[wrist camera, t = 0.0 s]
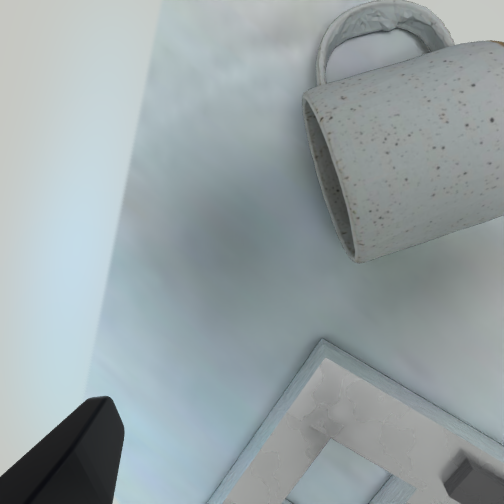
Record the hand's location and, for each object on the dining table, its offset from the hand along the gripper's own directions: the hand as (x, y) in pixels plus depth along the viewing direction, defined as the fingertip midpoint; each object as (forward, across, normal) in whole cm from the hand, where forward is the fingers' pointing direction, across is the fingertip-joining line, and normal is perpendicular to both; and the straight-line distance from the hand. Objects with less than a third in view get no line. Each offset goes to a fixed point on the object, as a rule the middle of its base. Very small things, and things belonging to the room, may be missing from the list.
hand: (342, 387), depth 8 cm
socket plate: (+11, 0, +19) cm, 22 cm away
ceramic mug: (+16, -4, -1) cm, 17 cm away
